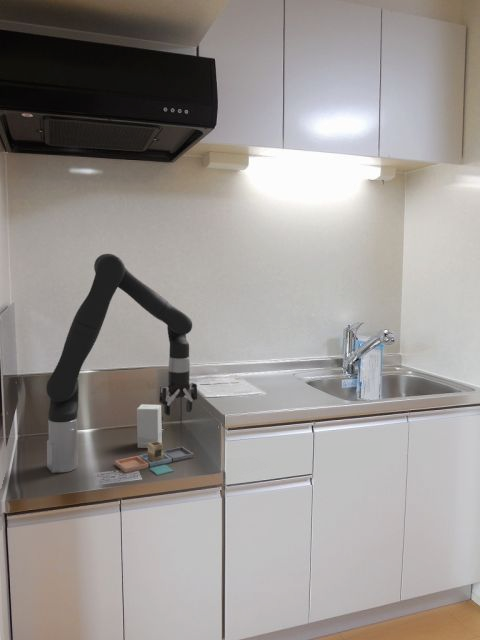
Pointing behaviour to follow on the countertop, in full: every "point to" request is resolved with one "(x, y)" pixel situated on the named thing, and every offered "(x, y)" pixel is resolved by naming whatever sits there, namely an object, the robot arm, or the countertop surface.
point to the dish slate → (152, 464)
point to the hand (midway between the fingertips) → (178, 413)
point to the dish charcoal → (178, 454)
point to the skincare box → (148, 424)
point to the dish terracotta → (131, 464)
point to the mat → (161, 469)
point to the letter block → (155, 451)
